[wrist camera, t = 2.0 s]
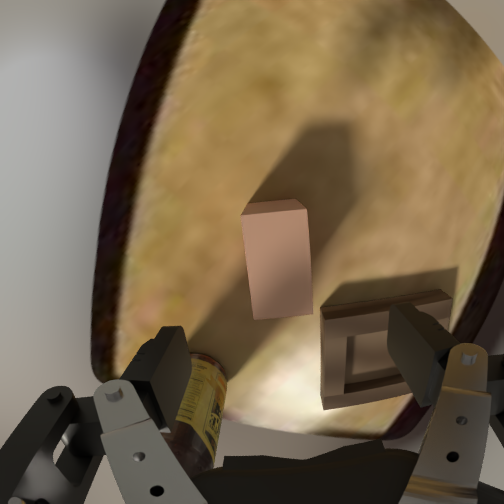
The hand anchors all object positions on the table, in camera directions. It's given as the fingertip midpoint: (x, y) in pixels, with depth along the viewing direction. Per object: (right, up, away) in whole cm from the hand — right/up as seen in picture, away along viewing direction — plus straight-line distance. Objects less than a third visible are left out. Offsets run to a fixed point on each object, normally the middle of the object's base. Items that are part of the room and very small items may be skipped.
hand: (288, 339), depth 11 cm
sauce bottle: (-7, -9, +19) cm, 22 cm away
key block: (+1, +4, +15) cm, 15 cm away
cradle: (+12, -6, +17) cm, 22 cm away
